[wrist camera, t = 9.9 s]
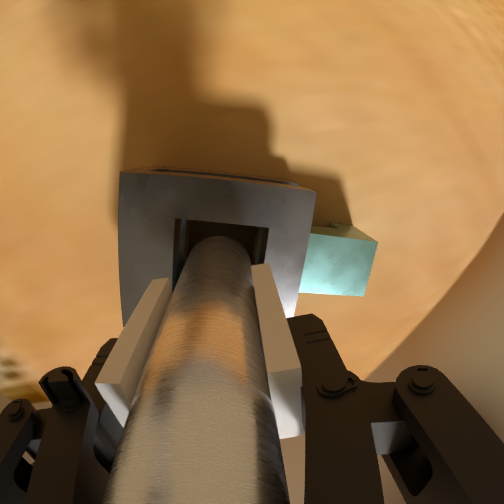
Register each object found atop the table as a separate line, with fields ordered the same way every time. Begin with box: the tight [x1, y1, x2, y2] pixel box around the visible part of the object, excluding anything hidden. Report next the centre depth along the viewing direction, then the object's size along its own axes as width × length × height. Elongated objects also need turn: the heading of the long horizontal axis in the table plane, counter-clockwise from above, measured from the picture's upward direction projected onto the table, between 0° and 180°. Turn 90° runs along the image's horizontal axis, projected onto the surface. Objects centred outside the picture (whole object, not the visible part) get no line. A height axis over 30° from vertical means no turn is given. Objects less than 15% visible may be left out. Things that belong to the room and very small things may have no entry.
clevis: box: [118, 167, 378, 327], centre depth 19 cm, size 10×16×6 cm, turn 83°
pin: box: [102, 236, 290, 504], centre depth 9 cm, size 4×4×16 cm
